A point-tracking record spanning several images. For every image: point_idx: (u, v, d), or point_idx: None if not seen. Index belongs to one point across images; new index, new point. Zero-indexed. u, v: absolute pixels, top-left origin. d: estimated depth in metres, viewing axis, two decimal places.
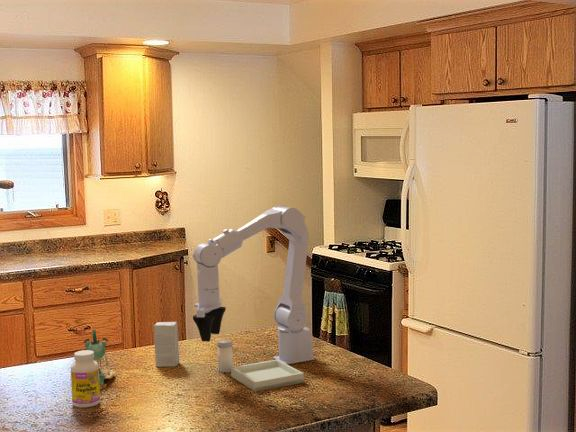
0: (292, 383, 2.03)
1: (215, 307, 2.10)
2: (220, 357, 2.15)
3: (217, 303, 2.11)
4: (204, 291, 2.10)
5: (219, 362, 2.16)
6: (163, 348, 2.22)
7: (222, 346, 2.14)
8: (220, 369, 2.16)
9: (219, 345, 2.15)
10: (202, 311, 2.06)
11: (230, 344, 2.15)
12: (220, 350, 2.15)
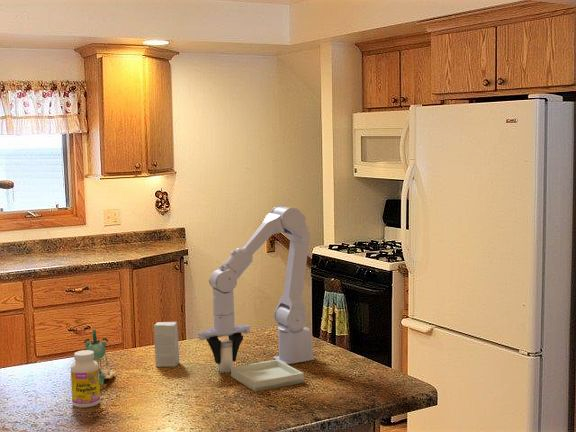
0: (292, 383, 2.03)
1: (221, 333, 2.13)
2: (220, 357, 2.15)
3: (225, 329, 2.13)
4: (214, 315, 2.14)
5: None
6: (163, 348, 2.22)
7: (222, 346, 2.14)
8: (220, 369, 2.16)
9: None
10: (200, 334, 2.12)
11: (230, 344, 2.15)
12: (220, 350, 2.15)
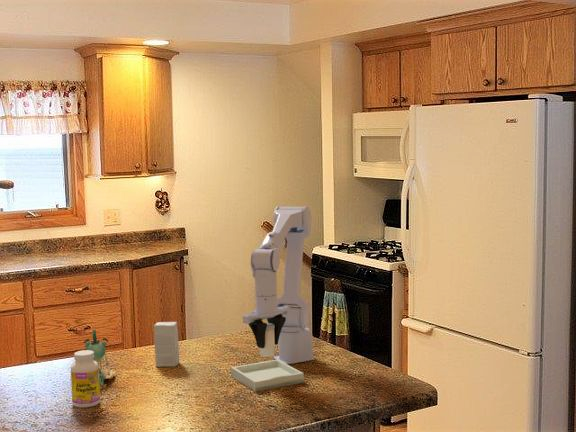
0: (292, 383, 2.03)
1: (266, 315, 2.02)
2: None
3: (270, 311, 2.03)
4: (257, 297, 2.03)
5: None
6: (163, 348, 2.22)
7: (267, 329, 2.04)
8: (264, 354, 2.05)
9: None
10: (246, 317, 2.00)
11: (274, 326, 2.05)
12: None
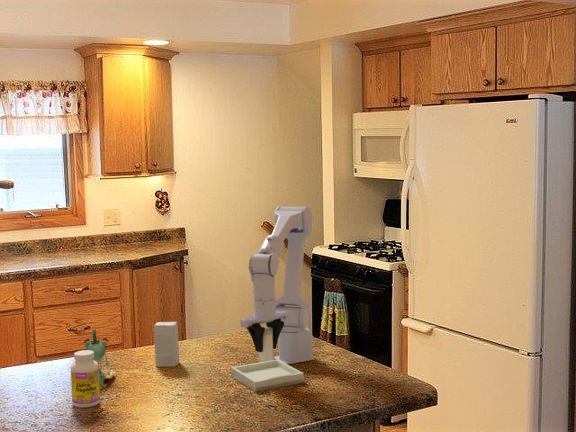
0: (292, 383, 2.03)
1: (264, 319, 2.03)
2: None
3: (268, 316, 2.04)
4: (255, 301, 2.04)
5: None
6: (163, 348, 2.22)
7: (265, 333, 2.05)
8: (262, 358, 2.06)
9: None
10: (244, 321, 2.01)
11: (272, 331, 2.06)
12: None
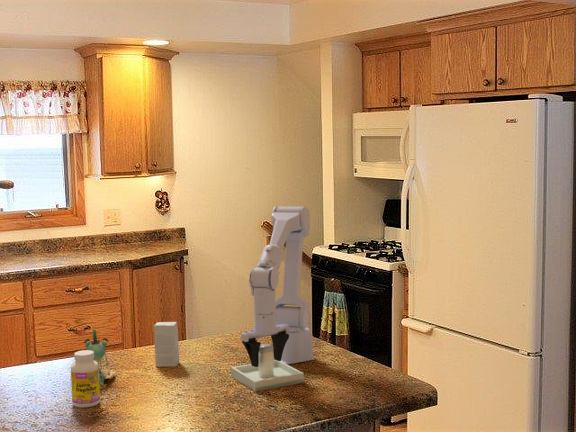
0: (292, 383, 2.03)
1: (265, 333, 2.04)
2: (262, 362, 2.06)
3: (269, 329, 2.04)
4: (256, 315, 2.05)
5: (261, 367, 2.06)
6: (163, 348, 2.22)
7: (266, 350, 2.05)
8: (262, 375, 2.06)
9: (262, 349, 2.06)
10: (244, 335, 2.02)
11: (272, 348, 2.07)
12: (263, 355, 2.06)
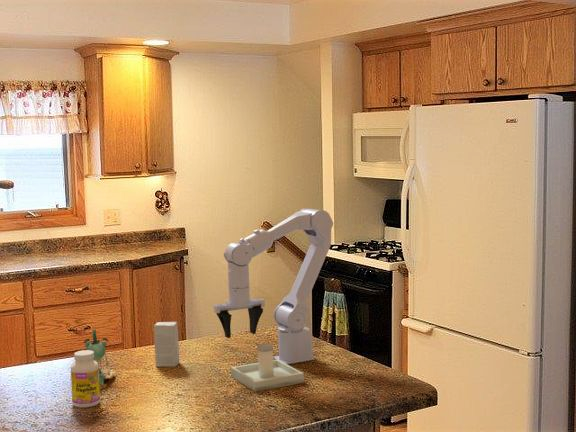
0: (292, 383, 2.03)
1: (236, 306, 2.14)
2: (262, 361, 2.06)
3: (240, 303, 2.14)
4: (229, 289, 2.15)
5: (261, 367, 2.06)
6: (163, 348, 2.22)
7: (265, 350, 2.05)
8: (262, 374, 2.06)
9: (261, 349, 2.06)
10: (216, 307, 2.13)
11: (272, 347, 2.07)
12: (262, 354, 2.06)
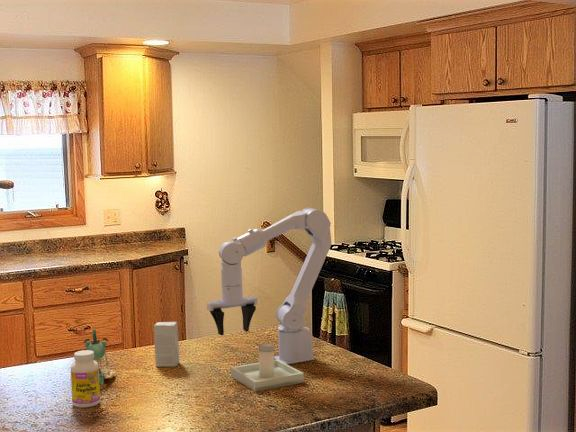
0: (292, 383, 2.03)
1: (229, 304, 2.17)
2: (262, 361, 2.06)
3: (233, 300, 2.17)
4: (222, 287, 2.18)
5: (261, 367, 2.06)
6: (163, 348, 2.22)
7: (266, 350, 2.05)
8: (262, 374, 2.06)
9: (262, 349, 2.05)
10: (209, 305, 2.16)
11: (273, 348, 2.06)
12: (263, 354, 2.06)
